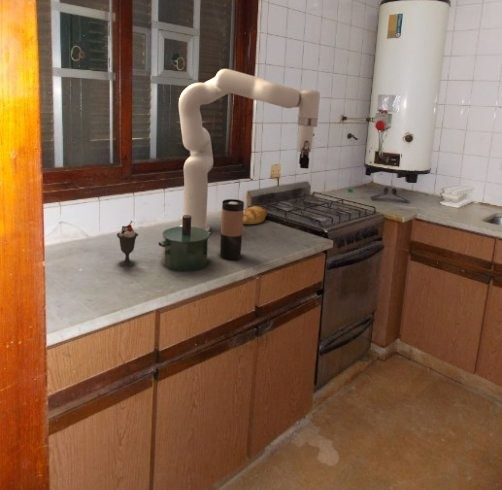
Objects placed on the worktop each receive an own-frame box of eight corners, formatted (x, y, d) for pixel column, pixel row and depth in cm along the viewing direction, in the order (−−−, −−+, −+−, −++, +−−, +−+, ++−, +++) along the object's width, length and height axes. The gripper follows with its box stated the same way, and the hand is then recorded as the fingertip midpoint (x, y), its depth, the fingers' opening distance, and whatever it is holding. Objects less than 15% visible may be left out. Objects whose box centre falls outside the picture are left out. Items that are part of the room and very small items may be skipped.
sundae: (134, 268, 140) (135, 223, 138) (113, 267, 140) (114, 222, 138) (140, 260, 147) (140, 217, 144) (120, 259, 147) (120, 216, 144)
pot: (147, 262, 146) (148, 234, 144) (195, 249, 160) (196, 224, 158) (173, 276, 136) (174, 247, 134) (221, 262, 150) (223, 235, 148)
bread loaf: (247, 234, 191) (255, 221, 187) (230, 220, 194) (238, 206, 191) (269, 222, 209) (277, 210, 205) (253, 209, 212) (261, 197, 209)
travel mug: (244, 254, 158) (247, 200, 154) (236, 261, 151) (239, 205, 147) (224, 250, 161) (227, 198, 157) (216, 257, 153) (218, 202, 150)
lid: (153, 235, 146) (153, 214, 145) (190, 227, 157) (191, 207, 156) (180, 248, 135) (181, 226, 134) (219, 239, 146) (220, 218, 145)
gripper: (297, 120, 177) (293, 162, 181) (298, 123, 161) (294, 169, 164) (315, 121, 177) (311, 163, 180) (319, 124, 160) (314, 170, 163)
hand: (303, 166), depth 172 cm, fingers open, 9 cm apart
